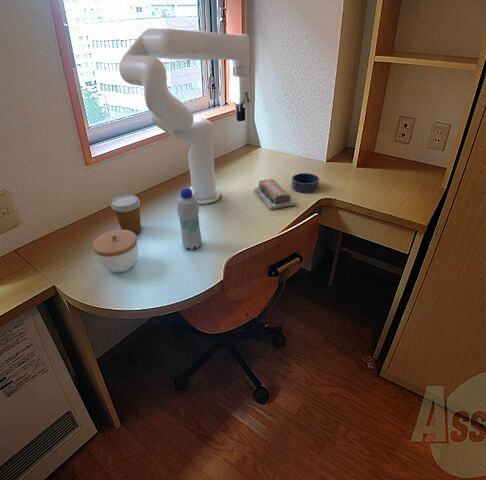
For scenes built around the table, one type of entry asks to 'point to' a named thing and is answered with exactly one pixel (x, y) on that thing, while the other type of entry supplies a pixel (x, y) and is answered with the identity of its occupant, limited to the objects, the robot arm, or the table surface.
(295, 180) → the dark blue bowl
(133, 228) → the disposable coffee cup
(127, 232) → the lidded bowl
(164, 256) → the table surface
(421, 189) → the table surface
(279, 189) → the butter dish
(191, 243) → the bottle
